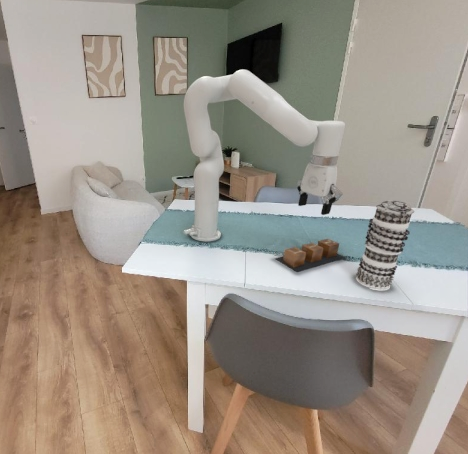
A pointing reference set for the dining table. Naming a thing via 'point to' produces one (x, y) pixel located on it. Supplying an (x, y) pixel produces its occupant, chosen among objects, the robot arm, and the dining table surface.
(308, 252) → the brown cube
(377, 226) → the decorative candle
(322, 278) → the dining table surface
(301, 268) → the word mat
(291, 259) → the brown wooden cube
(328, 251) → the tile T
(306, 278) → the dining table surface
